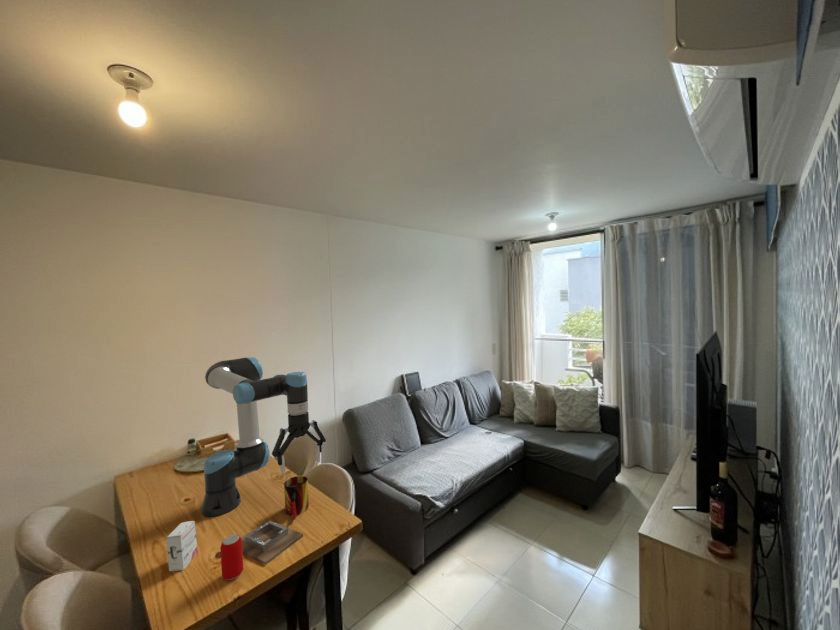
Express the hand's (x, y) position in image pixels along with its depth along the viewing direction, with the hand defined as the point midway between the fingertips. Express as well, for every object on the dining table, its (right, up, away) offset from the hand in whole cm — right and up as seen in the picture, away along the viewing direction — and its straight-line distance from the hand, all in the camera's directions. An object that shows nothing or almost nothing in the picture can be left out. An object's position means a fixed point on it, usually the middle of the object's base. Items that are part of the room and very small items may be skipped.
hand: (301, 466), depth 130 cm
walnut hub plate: (-11, -26, -5) cm, 28 cm away
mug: (-6, -26, +14) cm, 30 cm away
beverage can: (-15, -27, -20) cm, 37 cm away
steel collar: (-11, -26, -5) cm, 28 cm away
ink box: (-36, -27, -13) cm, 47 cm away
